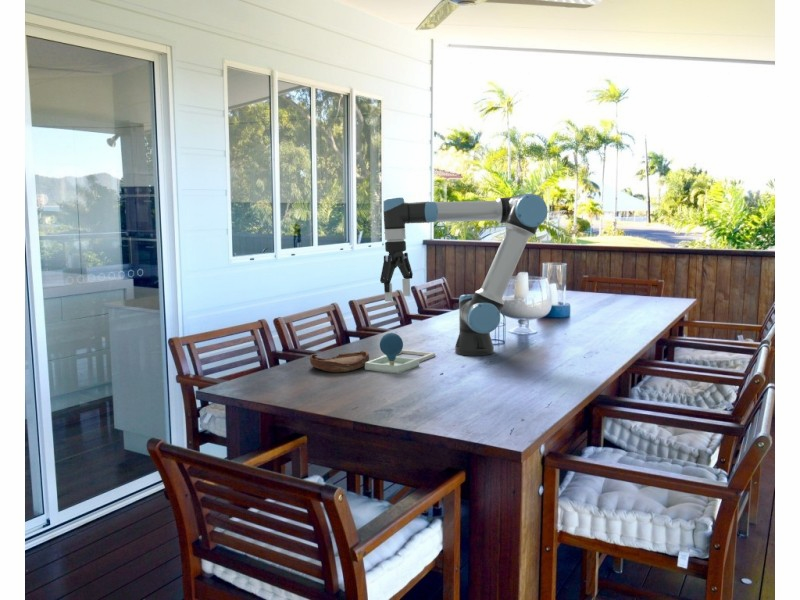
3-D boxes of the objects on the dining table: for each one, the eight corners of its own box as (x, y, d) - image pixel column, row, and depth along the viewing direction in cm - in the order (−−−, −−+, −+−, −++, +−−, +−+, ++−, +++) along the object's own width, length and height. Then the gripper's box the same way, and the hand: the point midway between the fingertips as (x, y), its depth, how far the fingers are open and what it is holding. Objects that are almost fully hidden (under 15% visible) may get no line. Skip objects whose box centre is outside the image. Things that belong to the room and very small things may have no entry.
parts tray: (418, 365, 252) (418, 358, 252) (398, 373, 240) (398, 366, 240) (386, 361, 260) (386, 355, 259) (364, 369, 248) (364, 362, 248)
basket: (346, 358, 268) (346, 345, 267) (382, 366, 254) (382, 352, 253) (299, 368, 252) (298, 355, 252) (334, 377, 238) (334, 363, 238)
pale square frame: (435, 356, 268) (435, 353, 268) (414, 364, 255) (414, 360, 255) (401, 352, 276) (401, 349, 276) (379, 359, 263) (379, 356, 263)
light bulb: (401, 368, 245) (400, 335, 243) (377, 368, 247) (376, 335, 245) (405, 363, 253) (404, 331, 251) (383, 363, 255) (382, 330, 253)
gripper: (402, 238, 265) (405, 294, 268) (368, 243, 243) (371, 303, 246) (420, 238, 261) (422, 294, 264) (387, 242, 240) (390, 303, 242)
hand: (397, 298), depth 255 cm, fingers open, 13 cm apart
